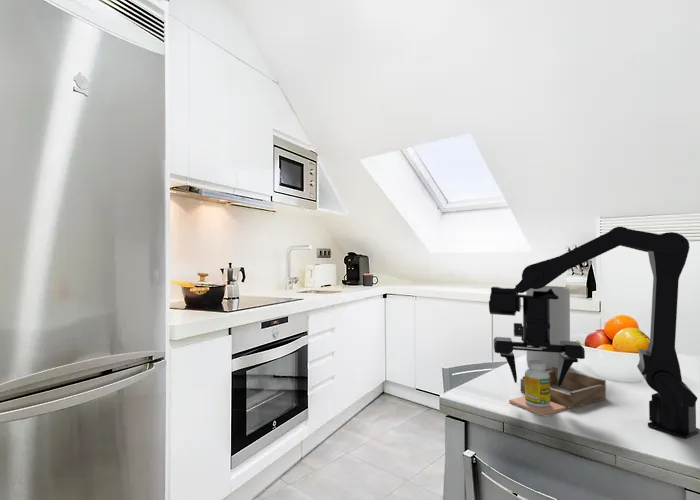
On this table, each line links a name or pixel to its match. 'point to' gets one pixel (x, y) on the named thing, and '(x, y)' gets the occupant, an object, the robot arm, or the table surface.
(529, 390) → the supplement bottle
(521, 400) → the terracotta tile
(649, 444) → the table surface
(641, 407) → the table surface
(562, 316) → the cylinder vase
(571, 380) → the brown wooden tray
